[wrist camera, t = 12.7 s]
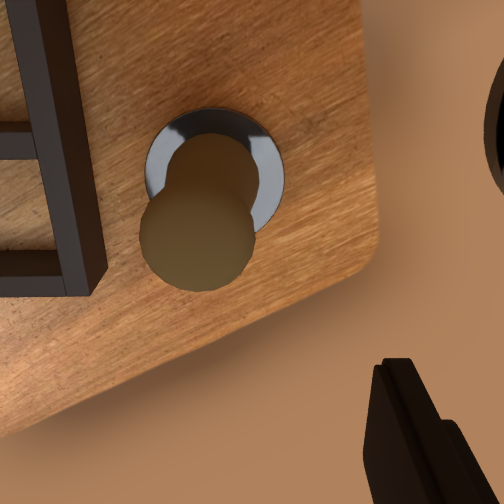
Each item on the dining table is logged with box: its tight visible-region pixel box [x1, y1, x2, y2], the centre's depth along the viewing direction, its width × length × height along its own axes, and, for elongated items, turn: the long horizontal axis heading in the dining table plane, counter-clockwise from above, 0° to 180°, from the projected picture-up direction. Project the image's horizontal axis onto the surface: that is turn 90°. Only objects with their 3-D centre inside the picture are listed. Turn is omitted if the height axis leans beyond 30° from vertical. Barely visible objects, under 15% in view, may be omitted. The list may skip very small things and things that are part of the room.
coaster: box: [145, 107, 285, 233], centre depth 29 cm, size 9×9×1 cm
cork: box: [139, 133, 260, 292], centre depth 23 cm, size 6×6×11 cm
